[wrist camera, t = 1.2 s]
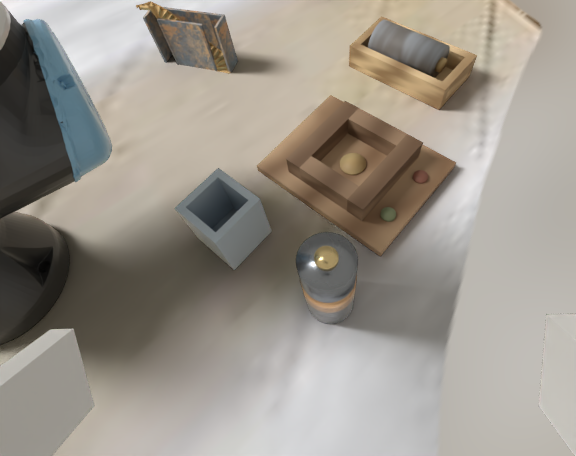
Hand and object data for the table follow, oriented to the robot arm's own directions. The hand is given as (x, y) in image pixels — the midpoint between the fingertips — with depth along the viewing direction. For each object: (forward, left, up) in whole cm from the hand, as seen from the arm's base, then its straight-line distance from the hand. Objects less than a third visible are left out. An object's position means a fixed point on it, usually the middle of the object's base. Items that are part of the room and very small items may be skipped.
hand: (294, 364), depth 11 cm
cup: (-19, +6, -26) cm, 33 cm away
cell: (-6, +7, -26) cm, 28 cm away
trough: (-18, +38, -26) cm, 50 cm away
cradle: (-14, +21, -26) cm, 36 cm away
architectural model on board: (-44, +23, -27) cm, 56 cm away
